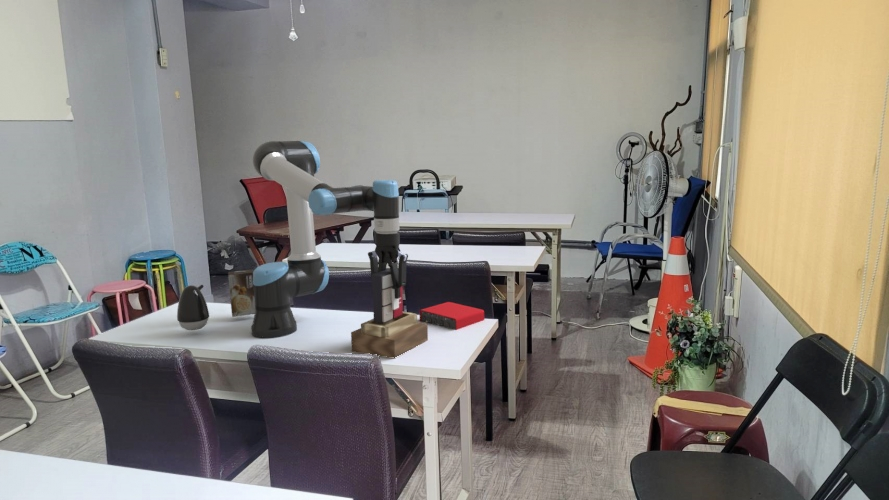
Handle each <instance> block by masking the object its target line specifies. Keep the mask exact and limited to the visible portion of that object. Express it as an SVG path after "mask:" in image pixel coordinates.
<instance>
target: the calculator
mask: <svg viewBox="0 0 889 500" xmlns="http://www.w3.org/2000/svg"><path fill="white" fill-rule="evenodd" d="M371 287H372V290H373V293H372V294H373V295H372V296H373V303H372V304H373V319H374V322H375V323H379V324H383V323H385V322H388V321H390V320H392V319H394V318H397V317H399V316H401V315H402V314H403V312H404V311H403V309H404V307H403V305H404V302H403V299H404V298H403V297H404V296H403V293H404V291H403V287H404V286H402V287H401V288H400V292H401V297H400V298H399V308H397V309H395V310H392V297H391V288H392V287H393V282H392V277H391V272H390V268H388V269H387V268H386V270H385V271H382V272H377V273H374V274H372V281H371Z"/></svg>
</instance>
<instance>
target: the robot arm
mask: <svg viewBox="0 0 889 500" xmlns="http://www.w3.org/2000/svg"><path fill="white" fill-rule="evenodd" d="M252 166H253V168H254V170H255V172H256V173H258V174H259V176H260V177H262V178H264V179H265V180H267V181H275V182H276V183H277V184H279V185H280V186H282V187H284V188H285V196H286V199H285V200H286V207H287V208H286V209H287V218H288V219H287V220H288V229H289V230H288V231H289V242H290V254H289V256H288V257H287V258H286V259H287V262H285V261H275V262H268V263H267V262H266V263H264V264H261V265H259V266H257V267H256V268H255V269H254V270H253V286H254V299H255V314H253V315H254V316H253V321H252V324H251V327H250V329H251V332H250V333H251V335H252V336H254V337H255V338H263V339H264V338H266V339H269V338H270V339H271V338H279V337H284V336H285V337H286V336H289V335H291V334H293V333H294V334H295V332H296V331H297V330H298V328H297V327H298V325H297V324H298V323H297V321H296V320H295V316H294V314H293V310H292V309H291V299H293V298H296V297H302V296H307V295H314V294H316V293H318V292H322V291H323V290H324V289H325V288H326V287H327V285H328V283H329V278H330V277H329V276H330V271H329V267H328V266H327V265H328V264H327V263H326V261H324V260H323V259H322V257H321V255H320V254H319V253H318V252H317V250H316V246H317V245H316V238H315V236H316V235H315V224H314V223H315V221H314V215H316V216H329V215H334V214H335V215H336V214H343V213H353V212H363V211H364V212H365V211H367V212H368V211H369V212H373V227H374V230H373V231H374V232H375V233H374V244H375V248H374V250H372V251H368V252H367V255H368V259H369V263H370V264H369V265H370V280H371V282H372V274H374V273H377V272H382V271H385V270H387V266H388V267H389V269H390V272H391V277H392V282H393V287H392V288H391V297H392V310H395V309H397V308H399V298H400V297H401V292H400V288H401V287H402V286H403V287H404V286H406V285H407V261H408V258H409V255H408V253H404V252H403V253H402V252H401V249H400V244H401V243H400V242H401V238H400V236H401V235H400V234H401V233H400V232H399V231H400V212H399V211H400V206H399V205H400V203H399V202H400V201H399V199H400V197H399V196H400V193H399V186H398V185H399V184H398V182H397V181H396V180H394V179H377V180H373V182H372V185H371V186H369V185H362V184H360V185H351V186H347V187H345V186H344V187H343V186H342V187H333V186H331V185H329V184H327V183H325V182H324V181H322V180H320V179H319V178H317V177H315V175H316V174H317V173H318V172H319V170H320V167H321V157H320V154H319V151H318V150H317V148H316V147H315V146H314V144H312V143H311V142H309V141H302V140H285V141H283V140H277V141H276V140H271V141H265V142H264V143H262V144H260V145H259V146H258V147H257V148H256V149H255V151H254V152H253V157H252Z"/></svg>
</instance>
